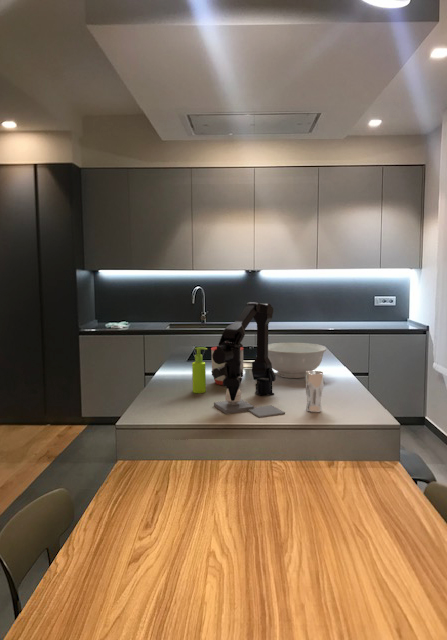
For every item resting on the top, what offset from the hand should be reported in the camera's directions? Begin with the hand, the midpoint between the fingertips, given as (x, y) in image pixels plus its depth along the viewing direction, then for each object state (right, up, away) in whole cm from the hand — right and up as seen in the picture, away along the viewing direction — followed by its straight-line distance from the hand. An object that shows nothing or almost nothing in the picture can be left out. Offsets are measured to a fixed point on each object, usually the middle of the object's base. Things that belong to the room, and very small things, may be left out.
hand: (233, 398), depth 201 cm
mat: (+12, -4, -5) cm, 14 cm away
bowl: (+32, +3, +58) cm, 66 cm away
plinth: (0, -4, 0) cm, 4 cm away
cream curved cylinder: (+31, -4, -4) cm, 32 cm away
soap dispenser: (-14, -1, +27) cm, 30 cm away
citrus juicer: (-2, +1, +43) cm, 43 cm away
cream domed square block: (0, 0, 0) cm, 0 cm away
